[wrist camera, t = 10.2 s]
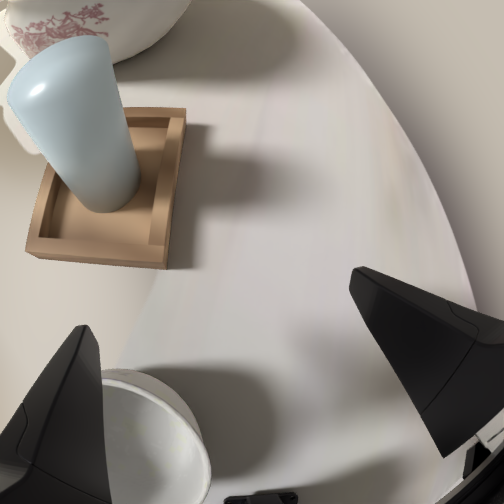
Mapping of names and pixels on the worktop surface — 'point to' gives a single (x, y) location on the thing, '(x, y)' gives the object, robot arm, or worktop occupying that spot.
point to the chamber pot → (92, 23)
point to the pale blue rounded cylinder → (79, 120)
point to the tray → (126, 218)
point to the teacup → (151, 442)
